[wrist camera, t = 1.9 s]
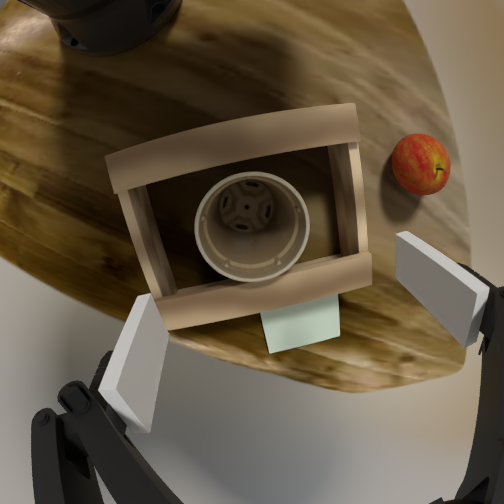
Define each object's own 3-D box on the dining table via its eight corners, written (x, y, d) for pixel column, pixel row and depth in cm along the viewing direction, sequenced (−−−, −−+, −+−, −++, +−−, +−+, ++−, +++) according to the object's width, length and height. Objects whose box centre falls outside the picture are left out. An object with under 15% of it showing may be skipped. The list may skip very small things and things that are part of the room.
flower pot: (212, 254, 34) (209, 291, 26) (193, 173, 30) (182, 185, 22) (294, 238, 34) (315, 270, 26) (281, 155, 30) (301, 162, 22)
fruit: (431, 145, 31) (473, 151, 23) (417, 195, 33) (456, 211, 26) (389, 124, 30) (429, 124, 22) (374, 178, 32) (412, 192, 25)
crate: (128, 151, 29) (104, 156, 22) (329, 108, 29) (354, 103, 22) (172, 298, 35) (163, 331, 29) (348, 259, 35) (371, 284, 29)
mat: (254, 288, 36) (255, 291, 35) (334, 269, 36) (336, 272, 35) (268, 349, 40) (269, 353, 39) (338, 332, 40) (340, 335, 39)
